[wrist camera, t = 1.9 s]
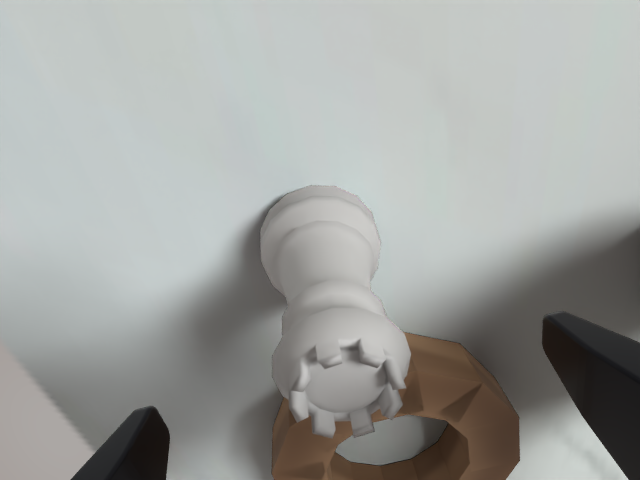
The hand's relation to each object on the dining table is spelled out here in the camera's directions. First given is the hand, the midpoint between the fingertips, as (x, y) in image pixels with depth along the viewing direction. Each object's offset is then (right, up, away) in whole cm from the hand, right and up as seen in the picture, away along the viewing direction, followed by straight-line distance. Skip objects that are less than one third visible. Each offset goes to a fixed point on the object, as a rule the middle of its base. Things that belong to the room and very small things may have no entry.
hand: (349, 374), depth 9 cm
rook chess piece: (-1, +3, +7) cm, 8 cm away
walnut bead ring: (+3, -6, +11) cm, 13 cm away
